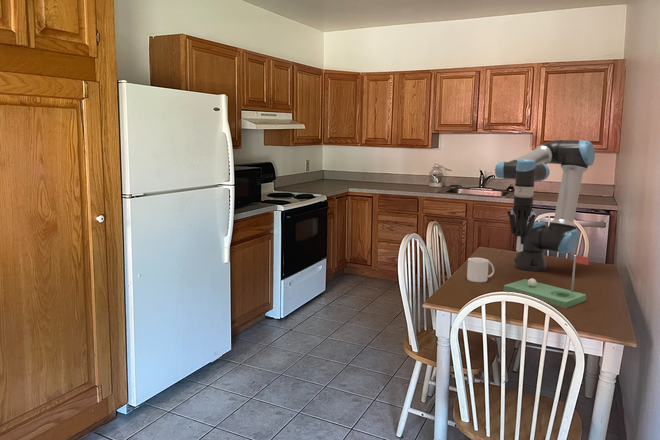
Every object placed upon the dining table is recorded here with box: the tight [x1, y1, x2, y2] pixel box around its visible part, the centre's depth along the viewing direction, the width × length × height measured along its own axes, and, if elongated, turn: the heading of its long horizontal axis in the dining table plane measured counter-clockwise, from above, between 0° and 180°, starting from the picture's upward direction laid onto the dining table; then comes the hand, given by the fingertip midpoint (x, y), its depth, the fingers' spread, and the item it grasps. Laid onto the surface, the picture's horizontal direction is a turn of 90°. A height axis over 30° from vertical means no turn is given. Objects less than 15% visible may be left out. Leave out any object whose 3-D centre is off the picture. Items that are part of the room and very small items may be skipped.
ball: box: [527, 277, 538, 287], centre depth 209 cm, size 4×4×4 cm
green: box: [503, 278, 587, 309], centre depth 205 cm, size 27×16×2 cm, turn 37°
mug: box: [466, 257, 495, 283], centre depth 226 cm, size 12×9×9 cm
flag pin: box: [570, 254, 590, 292], centre depth 200 cm, size 6×1×18 cm, turn 37°
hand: (519, 251), depth 212 cm, fingers closed
